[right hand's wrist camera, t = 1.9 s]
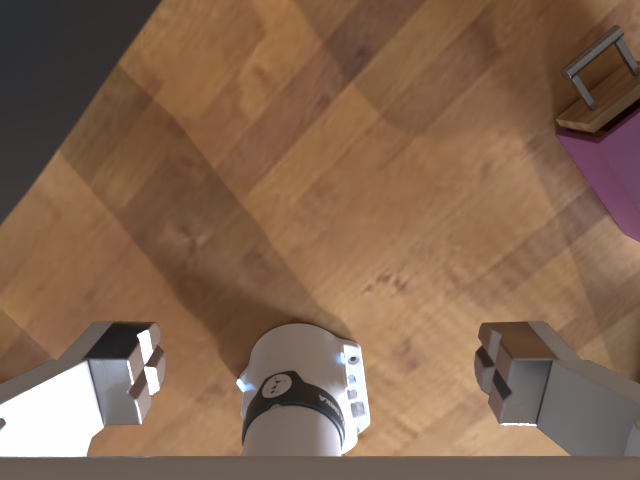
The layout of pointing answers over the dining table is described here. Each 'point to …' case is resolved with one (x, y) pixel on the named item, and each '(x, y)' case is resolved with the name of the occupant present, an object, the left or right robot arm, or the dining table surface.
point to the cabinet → (611, 168)
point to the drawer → (602, 89)
